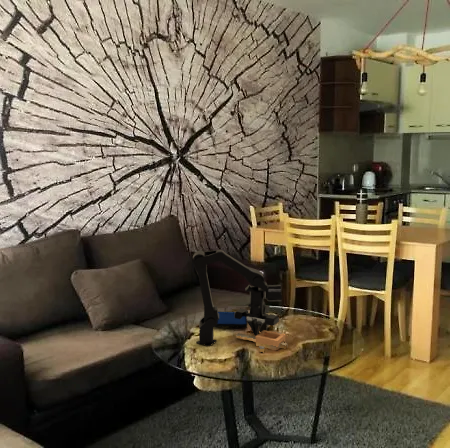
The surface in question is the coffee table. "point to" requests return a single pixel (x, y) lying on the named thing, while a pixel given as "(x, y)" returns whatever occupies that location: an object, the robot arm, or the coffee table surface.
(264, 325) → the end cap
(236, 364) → the coffee table surface
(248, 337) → the rail
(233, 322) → the handheld game console
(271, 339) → the collar
